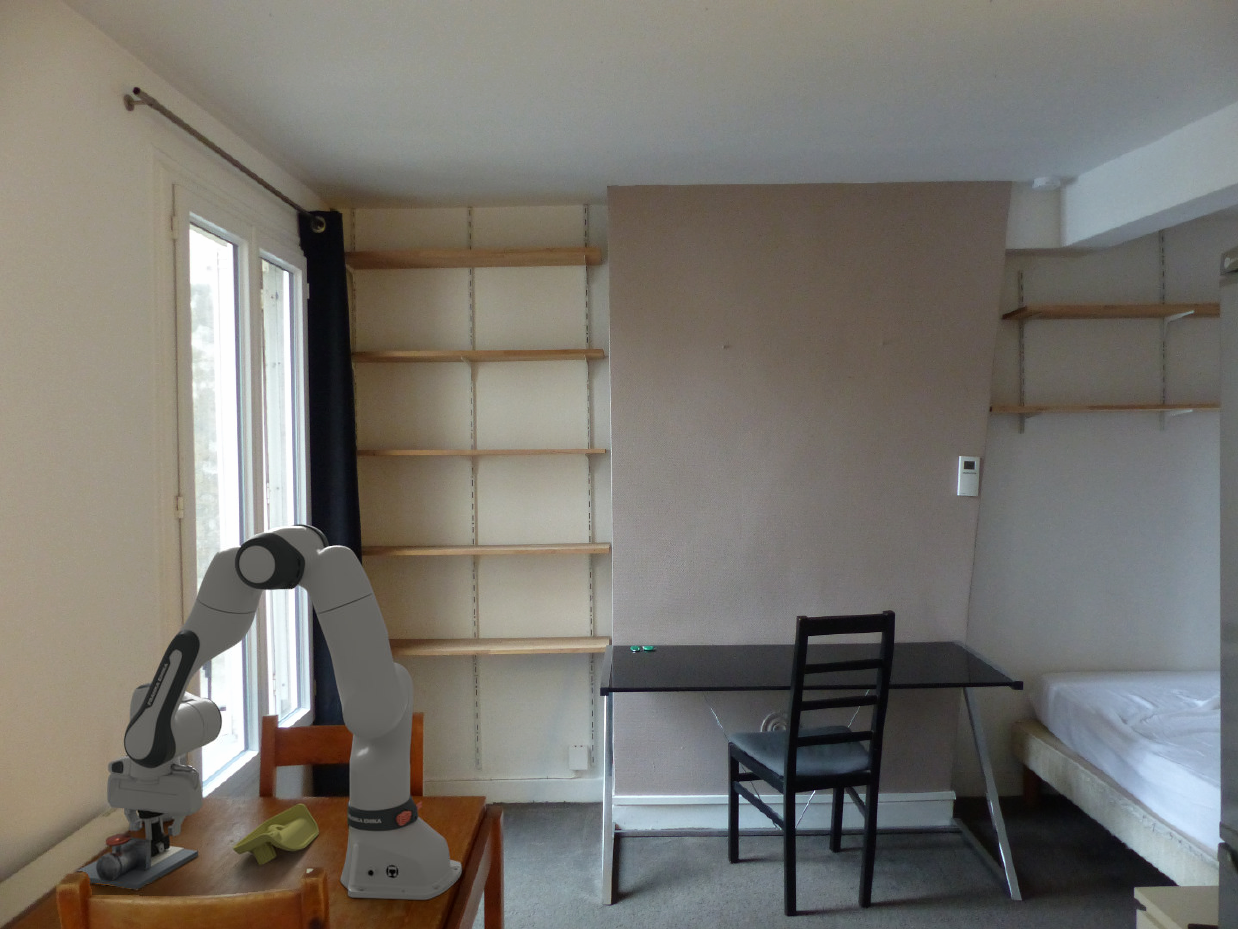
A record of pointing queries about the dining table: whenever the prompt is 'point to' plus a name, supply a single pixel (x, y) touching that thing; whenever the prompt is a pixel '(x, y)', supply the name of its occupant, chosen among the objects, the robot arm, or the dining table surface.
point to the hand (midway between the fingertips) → (154, 832)
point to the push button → (155, 831)
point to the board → (139, 878)
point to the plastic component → (280, 834)
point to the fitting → (124, 856)
